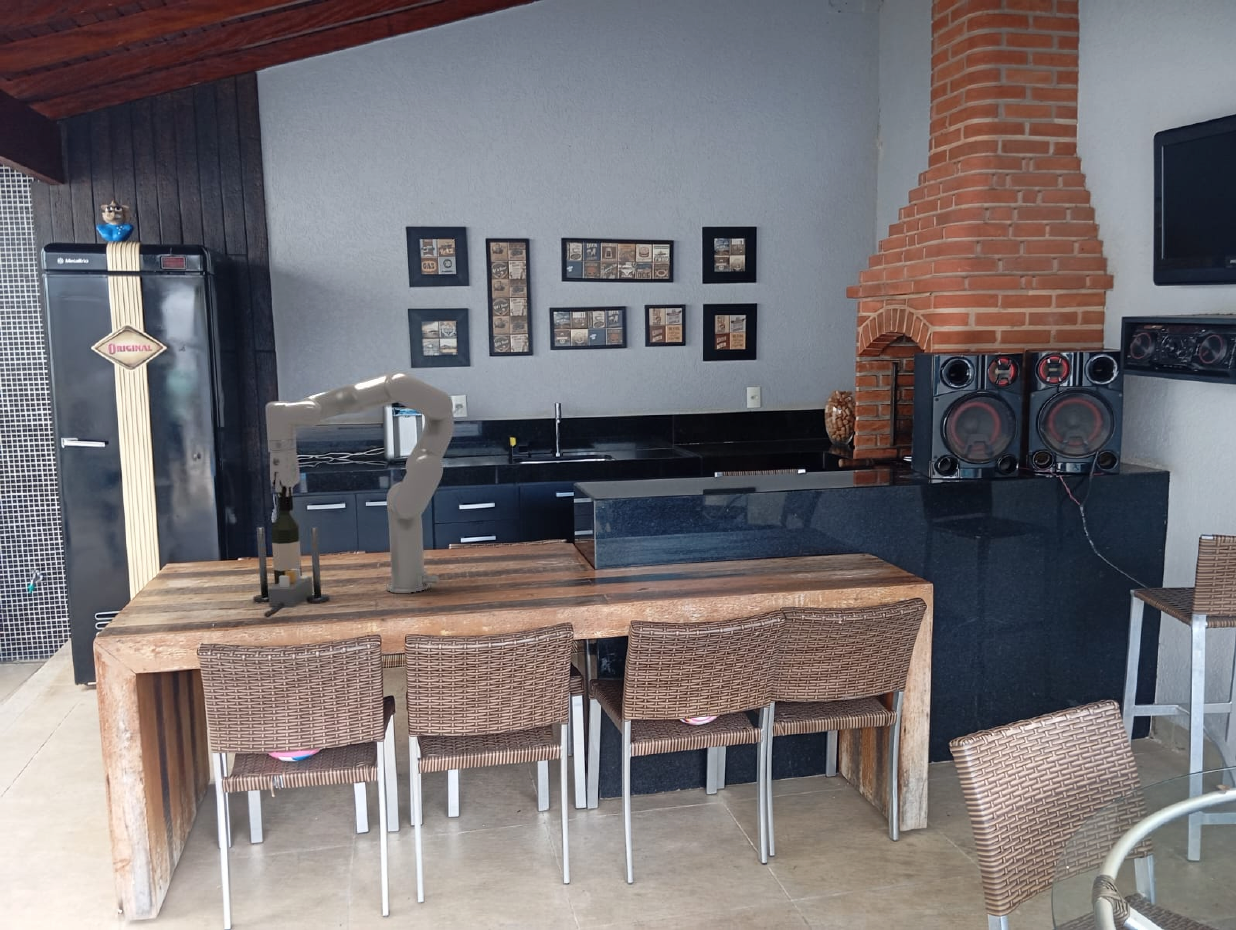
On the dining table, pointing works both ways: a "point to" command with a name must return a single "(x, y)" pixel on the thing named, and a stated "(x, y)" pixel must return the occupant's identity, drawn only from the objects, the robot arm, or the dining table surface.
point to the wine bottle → (285, 544)
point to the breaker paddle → (290, 576)
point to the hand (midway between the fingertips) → (286, 510)
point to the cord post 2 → (316, 570)
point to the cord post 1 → (262, 567)
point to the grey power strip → (289, 592)
